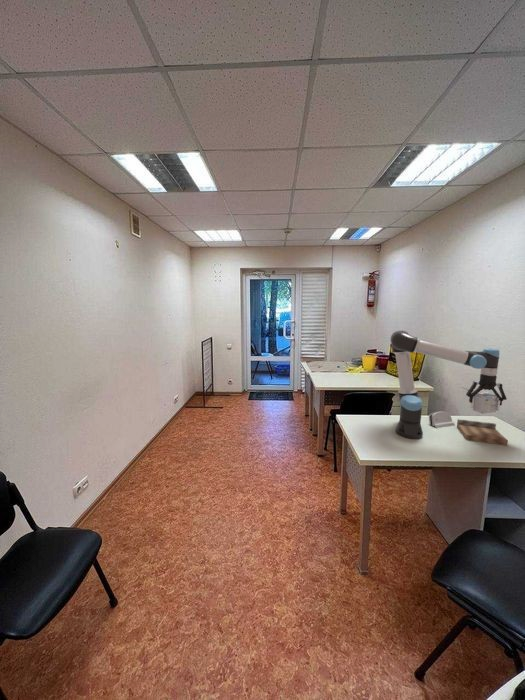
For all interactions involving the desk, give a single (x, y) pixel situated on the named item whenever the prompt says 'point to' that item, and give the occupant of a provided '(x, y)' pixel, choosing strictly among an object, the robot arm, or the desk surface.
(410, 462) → the desk surface
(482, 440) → the walnut stand
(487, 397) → the light bulb box
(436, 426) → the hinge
